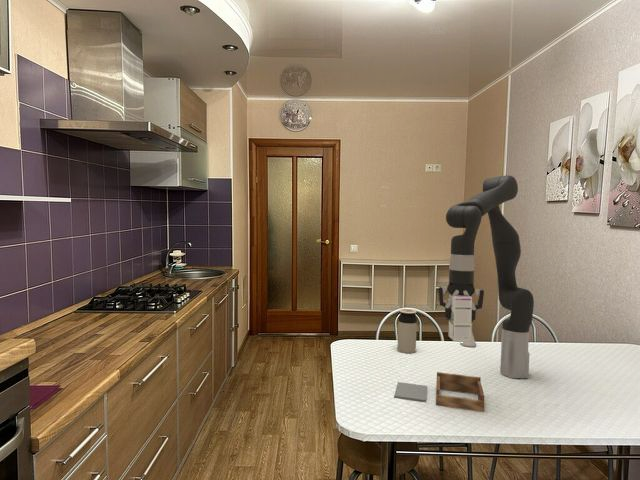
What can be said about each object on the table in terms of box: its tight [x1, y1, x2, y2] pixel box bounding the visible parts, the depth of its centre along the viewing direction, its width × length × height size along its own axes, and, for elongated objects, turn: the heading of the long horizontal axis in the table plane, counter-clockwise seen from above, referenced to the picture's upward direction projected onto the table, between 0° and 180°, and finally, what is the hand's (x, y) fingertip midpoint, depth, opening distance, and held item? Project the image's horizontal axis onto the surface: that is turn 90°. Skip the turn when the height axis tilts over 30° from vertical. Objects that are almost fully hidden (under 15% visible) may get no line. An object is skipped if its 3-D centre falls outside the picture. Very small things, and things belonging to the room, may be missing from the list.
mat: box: [393, 381, 428, 403], centre depth 135 cm, size 10×12×1 cm
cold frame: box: [435, 371, 485, 413], centre depth 130 cm, size 14×14×6 cm
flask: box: [459, 323, 477, 348], centre depth 190 cm, size 7×7×10 cm
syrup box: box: [447, 294, 473, 343], centre depth 130 cm, size 6×6×14 cm
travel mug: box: [396, 308, 418, 354], centre depth 179 cm, size 8×8×18 cm
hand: (459, 320), depth 130 cm, fingers closed on syrup box, 6 cm apart
